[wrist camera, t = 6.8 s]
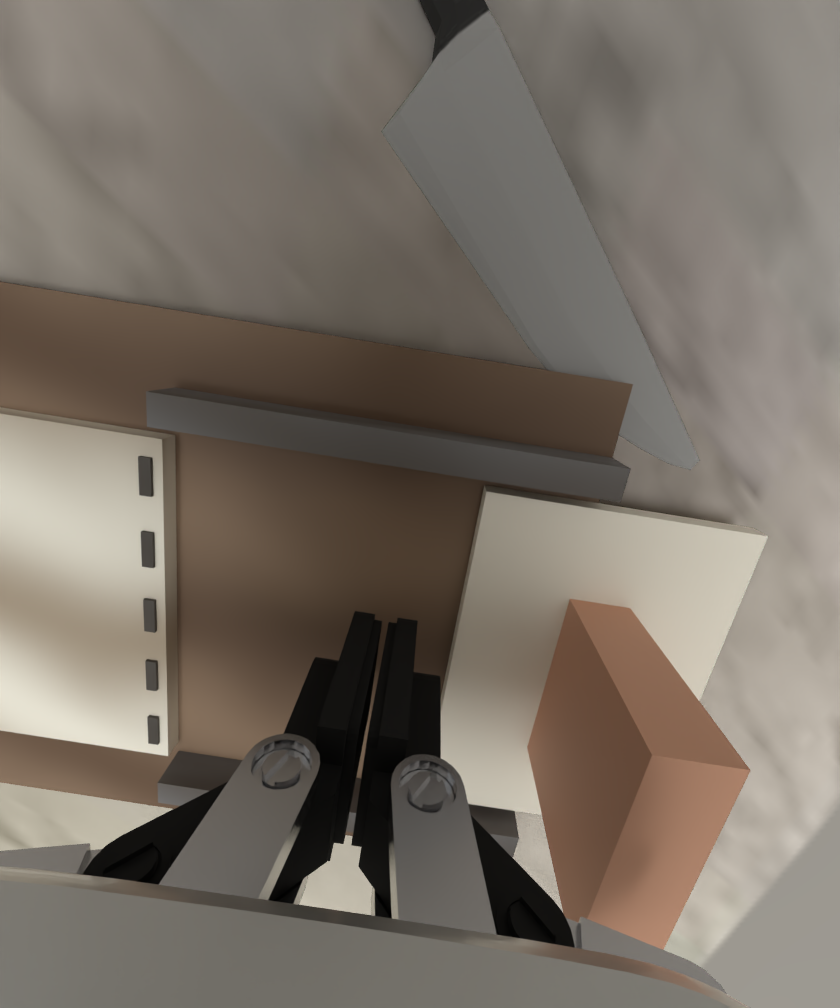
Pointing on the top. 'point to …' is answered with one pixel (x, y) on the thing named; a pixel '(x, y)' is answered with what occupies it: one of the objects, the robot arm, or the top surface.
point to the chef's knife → (525, 219)
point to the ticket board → (239, 525)
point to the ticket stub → (599, 693)
